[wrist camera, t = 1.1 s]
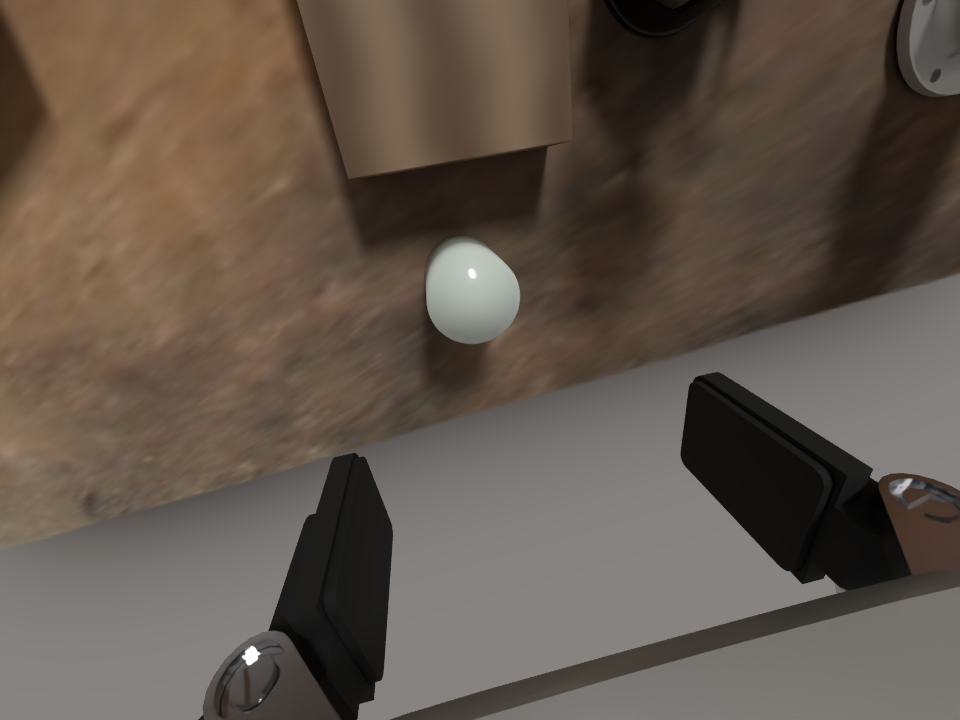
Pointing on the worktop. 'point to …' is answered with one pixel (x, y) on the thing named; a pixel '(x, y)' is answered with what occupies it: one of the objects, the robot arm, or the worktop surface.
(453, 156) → the brown wooden block
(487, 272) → the white rounded capsule
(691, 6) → the french press
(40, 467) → the worktop surface
